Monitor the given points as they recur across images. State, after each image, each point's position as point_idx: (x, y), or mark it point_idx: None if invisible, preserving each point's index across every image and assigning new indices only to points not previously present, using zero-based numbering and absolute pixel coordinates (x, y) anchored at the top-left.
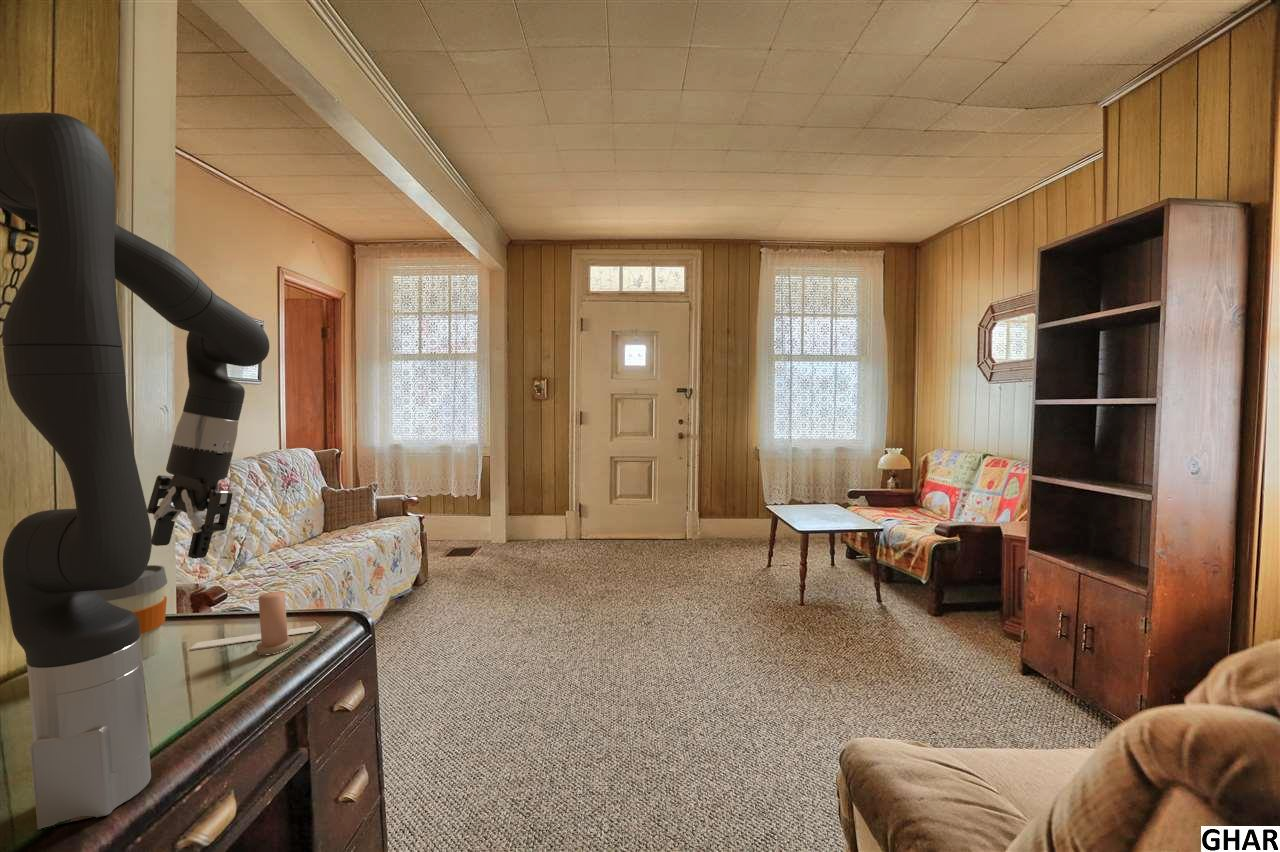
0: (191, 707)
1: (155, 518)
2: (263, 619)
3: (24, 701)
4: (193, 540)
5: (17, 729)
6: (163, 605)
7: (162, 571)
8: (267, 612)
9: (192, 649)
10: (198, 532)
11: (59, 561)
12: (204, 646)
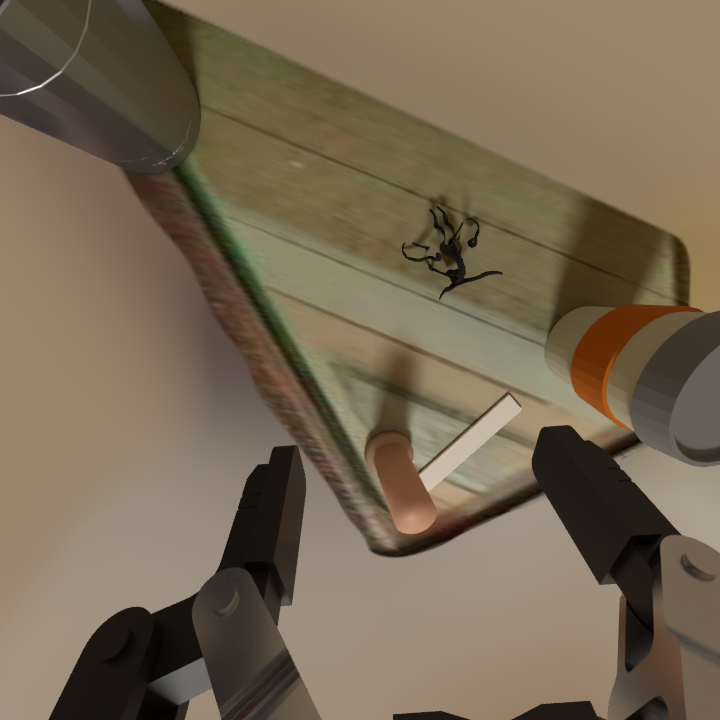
0: (307, 304)
1: (684, 545)
2: (400, 472)
3: (576, 207)
4: (264, 515)
5: (489, 159)
6: (602, 411)
7: (672, 453)
8: (396, 484)
9: (506, 396)
10: (216, 574)
11: None
12: (496, 408)
